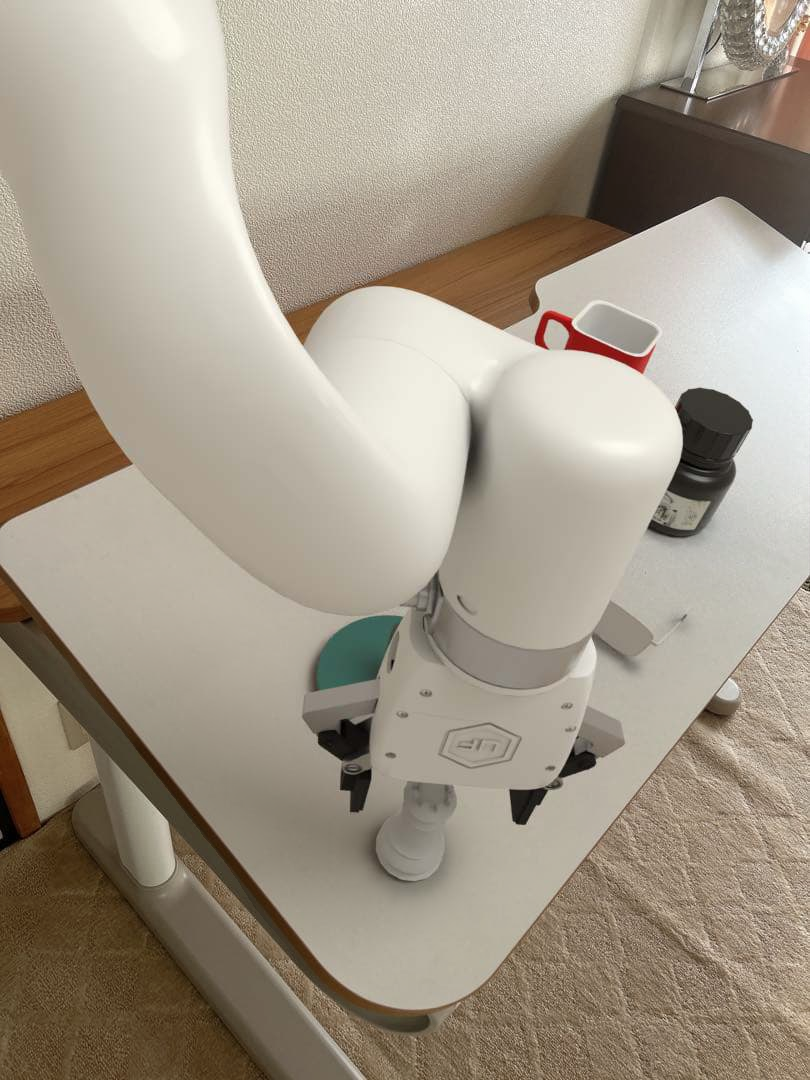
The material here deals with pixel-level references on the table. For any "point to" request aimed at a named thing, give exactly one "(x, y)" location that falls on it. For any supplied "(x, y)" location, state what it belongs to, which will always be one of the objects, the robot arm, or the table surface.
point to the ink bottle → (702, 460)
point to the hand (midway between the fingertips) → (436, 795)
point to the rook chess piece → (416, 831)
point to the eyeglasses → (625, 631)
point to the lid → (356, 652)
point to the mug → (607, 333)
